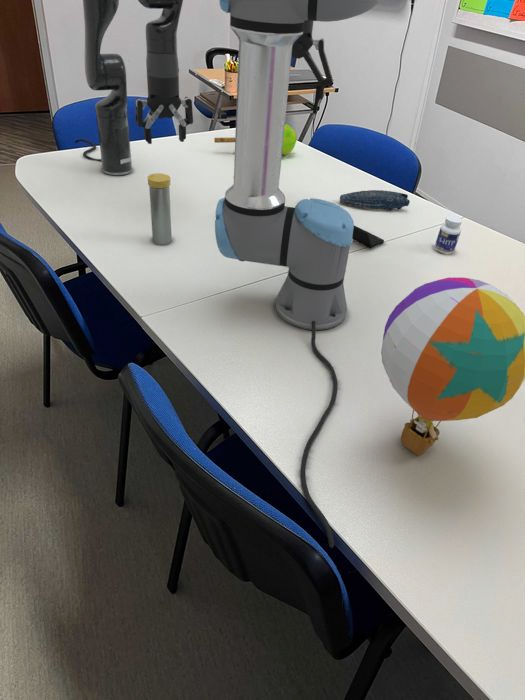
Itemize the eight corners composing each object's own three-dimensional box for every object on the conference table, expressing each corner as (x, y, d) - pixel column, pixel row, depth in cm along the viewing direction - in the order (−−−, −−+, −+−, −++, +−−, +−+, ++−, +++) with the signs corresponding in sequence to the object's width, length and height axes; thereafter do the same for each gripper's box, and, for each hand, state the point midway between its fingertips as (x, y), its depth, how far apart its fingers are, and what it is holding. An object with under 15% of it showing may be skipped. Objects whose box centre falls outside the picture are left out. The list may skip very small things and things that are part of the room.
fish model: (408, 214, 157) (412, 198, 153) (339, 207, 158) (341, 191, 154) (406, 206, 162) (410, 190, 159) (339, 199, 163) (341, 183, 160)
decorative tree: (211, 117, 187) (292, 117, 193) (212, 147, 194) (290, 146, 199) (217, 132, 174) (304, 131, 179) (217, 163, 180) (301, 162, 186)
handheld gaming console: (388, 234, 141) (380, 212, 133) (377, 256, 140) (367, 236, 131) (351, 226, 147) (341, 204, 139) (340, 247, 146) (329, 227, 138)
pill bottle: (433, 251, 139) (442, 220, 133) (435, 243, 143) (444, 213, 137) (453, 256, 138) (464, 225, 132) (454, 247, 142) (465, 217, 136)
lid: (150, 179, 126) (150, 172, 125) (172, 181, 126) (172, 174, 125) (145, 187, 121) (145, 180, 120) (167, 189, 121) (167, 182, 120)
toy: (330, 436, 84) (367, 277, 66) (403, 387, 95) (453, 238, 76) (431, 520, 73) (510, 357, 55) (500, 454, 84) (586, 299, 65)
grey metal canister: (155, 235, 135) (151, 174, 125) (173, 237, 135) (171, 176, 125) (150, 243, 131) (146, 181, 121) (169, 245, 131) (166, 184, 121)
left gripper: (186, 68, 129) (187, 136, 140) (129, 69, 124) (134, 139, 134) (196, 75, 124) (196, 145, 134) (137, 76, 119) (141, 148, 129)
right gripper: (351, 16, 123) (337, 111, 137) (248, 5, 125) (244, 100, 139) (351, 20, 118) (336, 118, 131) (243, 8, 119) (238, 107, 133)
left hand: (165, 142), depth 134 cm, fingers open, 8 cm apart
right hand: (288, 109), depth 135 cm, fingers open, 13 cm apart
